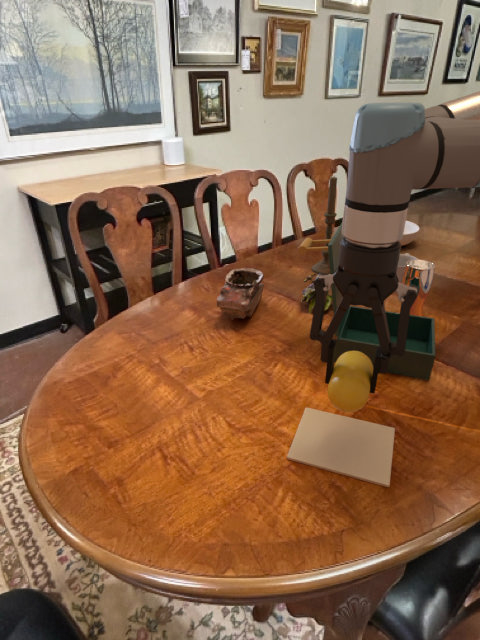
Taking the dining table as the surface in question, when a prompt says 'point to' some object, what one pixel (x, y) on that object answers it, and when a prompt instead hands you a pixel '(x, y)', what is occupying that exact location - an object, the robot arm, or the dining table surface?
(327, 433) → the placemat
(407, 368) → the open box
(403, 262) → the teacup
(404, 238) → the serving bowl
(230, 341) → the dining table surface
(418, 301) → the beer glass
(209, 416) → the dining table surface
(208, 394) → the dining table surface
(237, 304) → the brown shoe shaped pot
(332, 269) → the lid
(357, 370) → the yellow capsule
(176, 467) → the dining table surface
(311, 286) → the passion flower
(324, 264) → the candlestick holder
